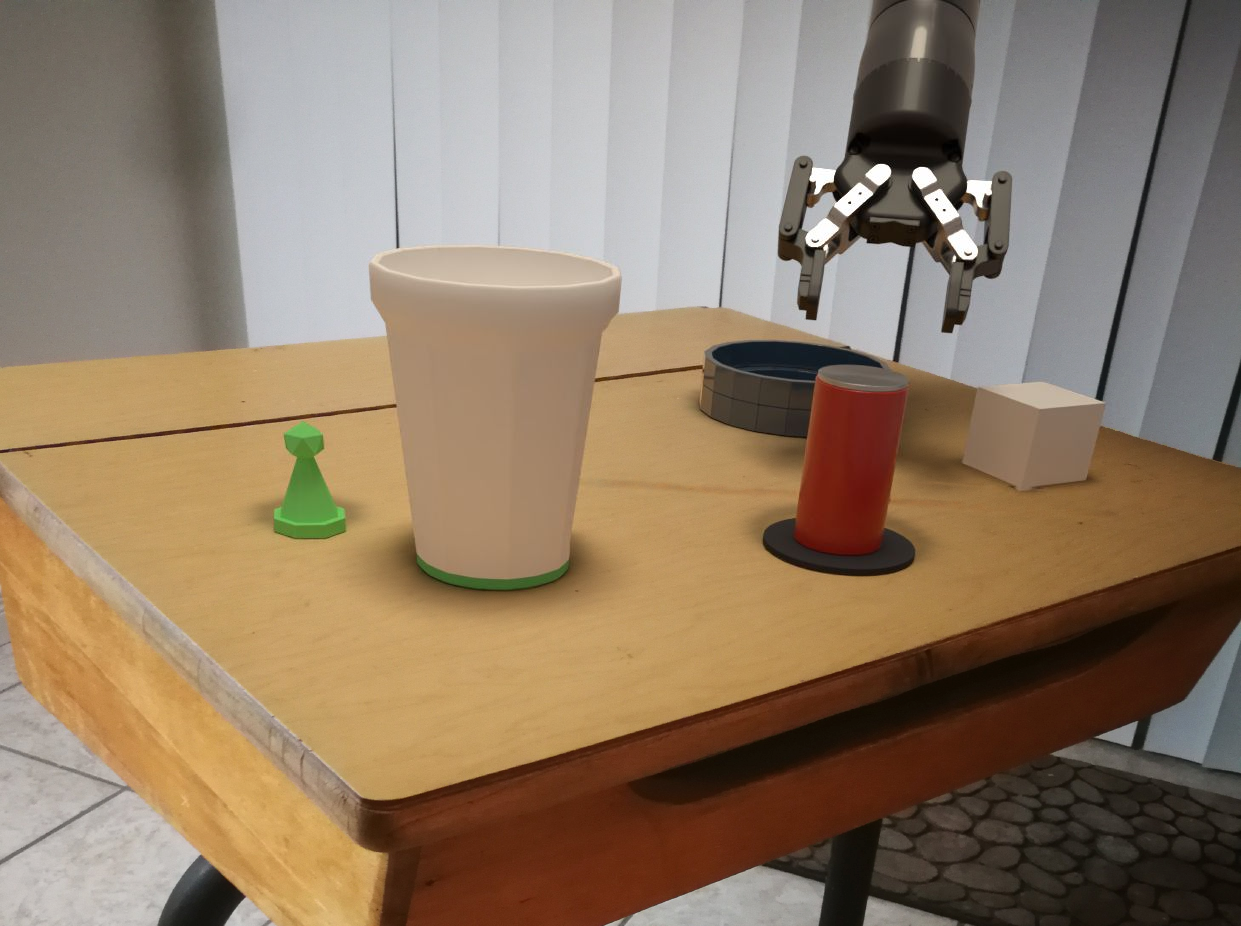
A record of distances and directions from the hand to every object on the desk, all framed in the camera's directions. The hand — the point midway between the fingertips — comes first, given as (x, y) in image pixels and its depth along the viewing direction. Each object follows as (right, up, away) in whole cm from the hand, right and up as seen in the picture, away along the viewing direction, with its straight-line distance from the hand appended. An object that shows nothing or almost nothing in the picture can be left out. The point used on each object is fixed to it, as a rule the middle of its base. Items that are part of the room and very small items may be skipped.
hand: (879, 319), depth 81 cm
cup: (-23, -17, -9) cm, 31 cm away
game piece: (-34, -15, -6) cm, 38 cm away
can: (-3, -15, -4) cm, 16 cm away
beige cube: (+12, -8, +10) cm, 17 cm away
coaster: (-3, -15, -4) cm, 16 cm away
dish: (-3, 0, +20) cm, 21 cm away
